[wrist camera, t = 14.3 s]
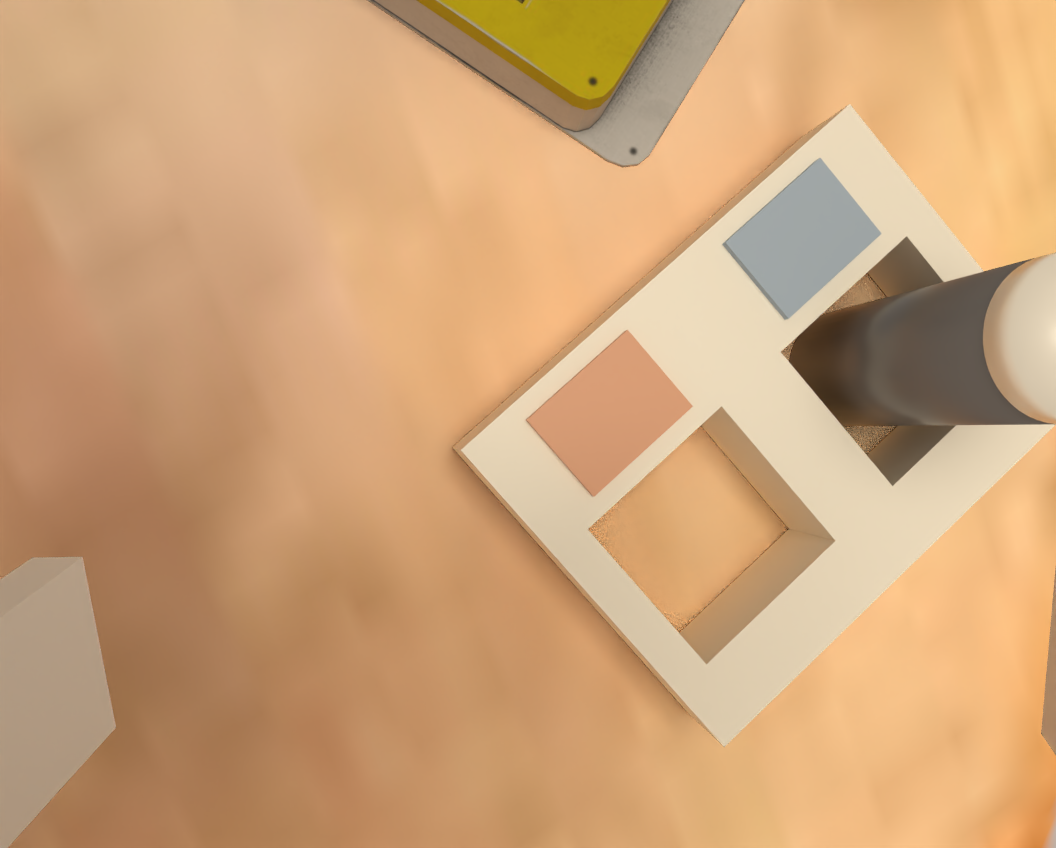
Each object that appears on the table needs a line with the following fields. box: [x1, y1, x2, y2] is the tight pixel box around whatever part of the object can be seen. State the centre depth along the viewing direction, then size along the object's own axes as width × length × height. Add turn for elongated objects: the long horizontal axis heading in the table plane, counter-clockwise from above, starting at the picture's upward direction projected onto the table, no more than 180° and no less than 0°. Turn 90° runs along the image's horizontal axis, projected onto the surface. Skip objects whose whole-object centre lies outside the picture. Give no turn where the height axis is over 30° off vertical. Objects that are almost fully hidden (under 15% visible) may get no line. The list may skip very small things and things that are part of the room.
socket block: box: [452, 104, 1056, 747], centre depth 31 cm, size 12×16×4 cm
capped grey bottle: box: [789, 253, 1056, 426], centre depth 28 cm, size 4×4×12 cm
